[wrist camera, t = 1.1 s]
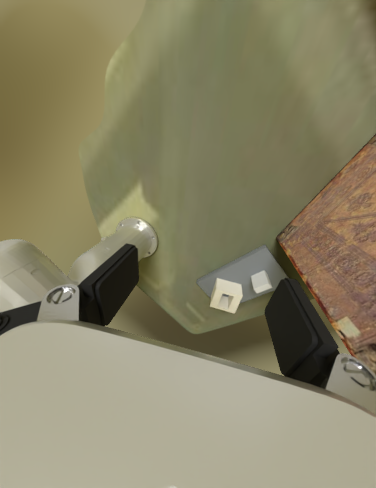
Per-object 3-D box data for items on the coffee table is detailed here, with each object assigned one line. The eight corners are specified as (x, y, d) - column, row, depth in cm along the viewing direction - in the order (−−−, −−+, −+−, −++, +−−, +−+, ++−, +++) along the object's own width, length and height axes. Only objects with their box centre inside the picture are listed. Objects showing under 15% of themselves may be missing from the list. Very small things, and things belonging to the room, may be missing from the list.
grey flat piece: (221, 306, 53) (221, 324, 47) (197, 279, 50) (193, 295, 44) (290, 279, 43) (299, 298, 37) (264, 244, 40) (271, 258, 34)
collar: (233, 301, 49) (234, 313, 45) (211, 294, 49) (209, 306, 45) (241, 284, 45) (242, 296, 41) (216, 277, 46) (216, 289, 42)
